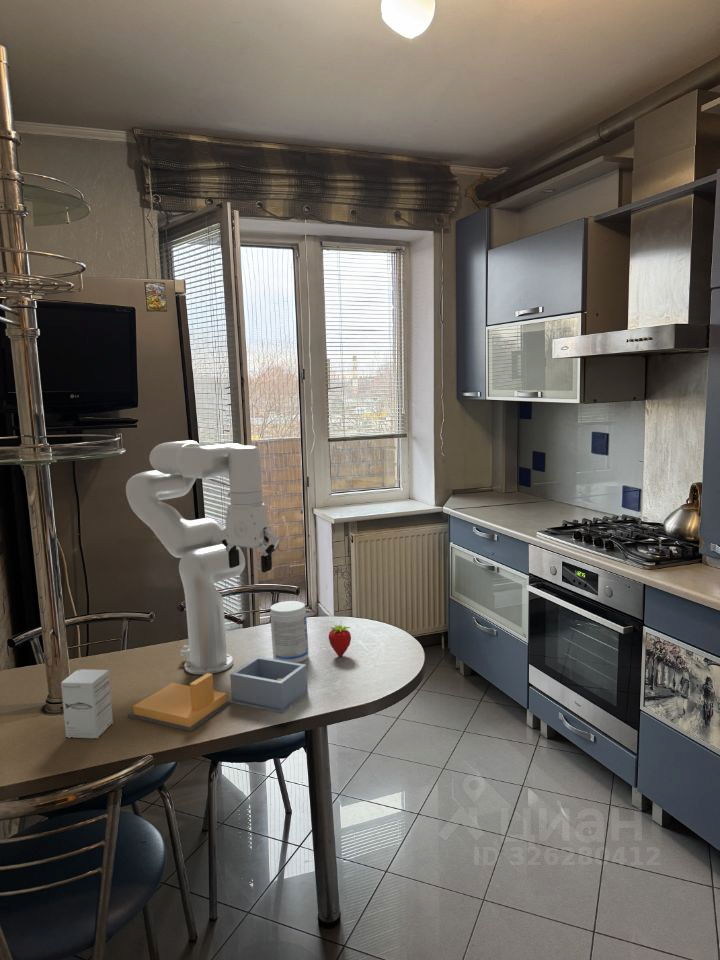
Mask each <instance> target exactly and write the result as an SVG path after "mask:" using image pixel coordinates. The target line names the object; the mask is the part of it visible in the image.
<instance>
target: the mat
mask: <svg viewBox="0 0 720 960" xmlns="http://www.w3.org/2000/svg"><path fill="white" fill-rule="evenodd" d="M230 704H232V701H231V700H228V699H227V702H226V703H224V704H223V705H221V706H220V707H218V708H217V709H216V710H214V711H213V712H211V713H210V714H208V715H207V716H205V717H204V718H203V719H201V720H200V721H198V722H197V723H195V724H194V725H192V726H191V727H186V726H182V725H178V724H174V723H169V722H165V721H161V720H157V719H152V718H148V717H144V716H140V715H135V714H134V710H132V711H131V712H129V713H127V717H129V718H132V717H133V718H134V719H137V720H140V721H141V720H142V721H144V720H145V721H146V722H149V723H152V724H158V725H161V726H166V727H170V728H174V729H179V730H182V731H186V732H193V731H194V730H195V729H196V728H198V727H199V726H201V725H202V724H203V723H205V722H206V721H208V720H209V719H211V718H212V717H213V716H215V715H216V714H218V713H219V712H221V711H222V710H224V709H225V708H226V707H228V706H230ZM133 718H132V719H133ZM145 721H144V722H145Z"/></svg>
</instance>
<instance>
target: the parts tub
mask: <svg viewBox="0 0 720 960" xmlns="http://www.w3.org/2000/svg"><path fill="white" fill-rule="evenodd" d="M229 681H230V694H231V704H237V705H242V706H246V707H251V708H256V709H261V710H266V711H270V712H274V713H275V712H276V713H281V714H283V713H285V712H286V711H287V710H288V709H290V708H291V707H292V706H293V705H295V704H297V702H298V701H300V700H301V699H302V698H303V697H305V696H306V695H307V694H309V693H308V692H309V688H308V686H309V685H308V670H307V664H304V663H293V662H287V661H281V660H275V659H274V658H269V657H263V656H255V658H252V659H251V660H249V661H248V662H247V663H245V664H243V665H241V666H240V667H238V668H237V669H236V670H234V671H232V672H231V673H230V674H229Z"/></svg>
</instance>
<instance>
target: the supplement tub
mask: <svg viewBox="0 0 720 960" xmlns="http://www.w3.org/2000/svg"><path fill="white" fill-rule="evenodd" d="M269 614H270V615H269V616H270V617H269V618H270V628H271V629H270V631H271V644H272V645H271V646H272V655H273V656H272V657H273V658H272V659H275V660H281V661H287V662H293V663H299V664H301V663H302V662H304V661H305V660H307V659H308V657H309V654H310V653H309V641H308V639H309V638H308V622H307V609H306V605H305V603H304V602H301V601H297V600H288V601H287V600H286V601H280V602H276V603H274V604H272V605H271V606H270V612H269Z"/></svg>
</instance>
